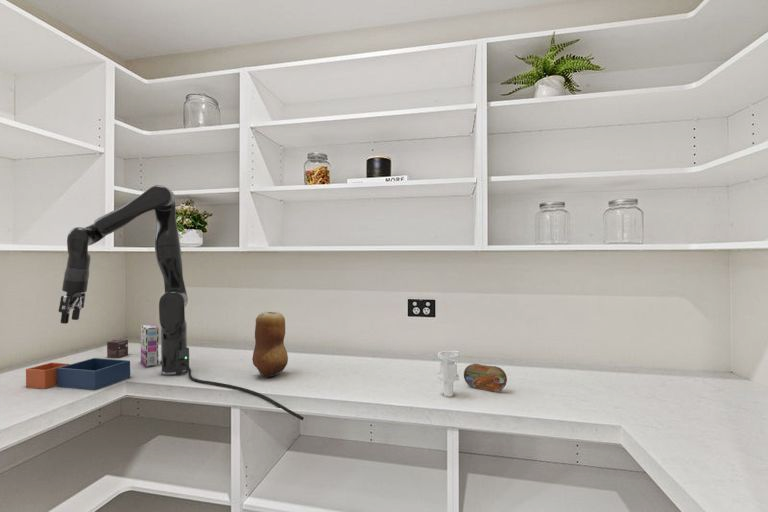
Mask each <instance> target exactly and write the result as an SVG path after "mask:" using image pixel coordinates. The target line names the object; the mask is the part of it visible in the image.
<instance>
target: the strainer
mask: <svg viewBox="0 0 768 512" xmlns="http://www.w3.org/2000/svg"><path fill="white" fill-rule="evenodd" d="M437 358H438V359H440V361H439V373H438V374H437V379H438V380H439V381H442V382H443V395H444V396H445V397H453V396H454V382H458V381H460V375H459V373H458V364H457V363H459V362H460V350H450V351H448V350H444V351H439V352H437Z"/></svg>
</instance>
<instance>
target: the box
mask: <svg viewBox="0 0 768 512" xmlns="http://www.w3.org/2000/svg"><path fill="white" fill-rule="evenodd" d="M126 356H129V339H119V338H118V339H114V340H113V339H112V340H110V341H107V342H106V357H107V358H108V359H119V358H123V357H126Z"/></svg>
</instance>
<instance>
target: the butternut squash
mask: <svg viewBox="0 0 768 512" xmlns="http://www.w3.org/2000/svg"><path fill="white" fill-rule="evenodd" d="M254 327H255V328H254V341H255V343H254V348H253V353H252V365H253V367H255V368H256V369H257V370H258V372H259V374H260V375H262V376H263V377H264V378H266V379H269V378H272V377H274V376H276V375H278V374H280V373H282V372H283V371H284V370H285V368H286V367H287V365H288V362H289V355H288V351H287V349H286V346H285V343H284V342H285V341H284V340H285V337H286V318H285V316H284V315H283V314H282V313H280V312H278V311H261V312H260V313H259V314H258V315H257V317H256V318H255V325H254Z"/></svg>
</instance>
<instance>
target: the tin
mask: <svg viewBox="0 0 768 512" xmlns="http://www.w3.org/2000/svg"><path fill="white" fill-rule="evenodd" d="M463 379H464V381H465V383H466V384H467V385H468V387H470V388H472V389H477V390H481V391H482V390H483V391H488V392H493V393H497V392H501V391H502V390H503V389H504V388H505V387H506V385H507V383H508V377H507V374H506V372H505V371H504V369H502V368H501V367H499V366H496V365H489V364H483V363H482V364H481V363H472V364H469V365H467V366H466V367H465V368H464V371H463Z"/></svg>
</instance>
